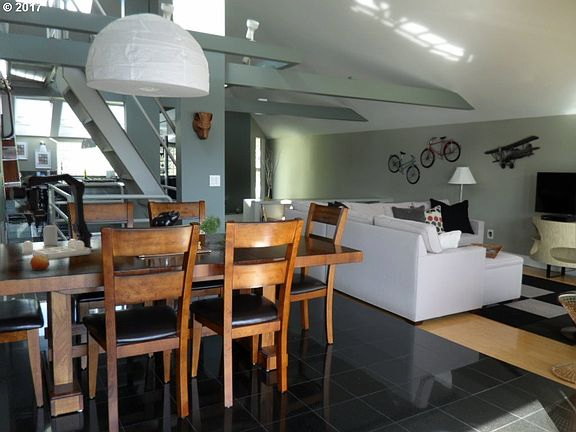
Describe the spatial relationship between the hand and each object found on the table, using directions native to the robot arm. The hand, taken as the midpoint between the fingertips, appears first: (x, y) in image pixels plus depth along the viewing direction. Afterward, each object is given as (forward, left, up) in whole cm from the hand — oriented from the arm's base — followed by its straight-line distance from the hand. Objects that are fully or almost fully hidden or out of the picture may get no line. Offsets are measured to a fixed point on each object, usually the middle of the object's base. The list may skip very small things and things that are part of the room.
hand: (33, 227), depth 250 cm
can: (-18, -22, -15) cm, 32 cm away
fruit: (+15, +43, -15) cm, 48 cm away
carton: (-9, +13, -15) cm, 22 cm away
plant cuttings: (-96, +40, -15) cm, 105 cm away
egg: (+2, -4, -15) cm, 15 cm away
